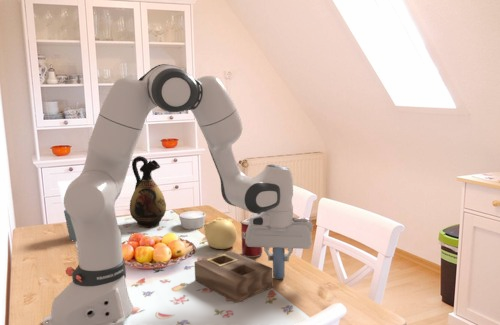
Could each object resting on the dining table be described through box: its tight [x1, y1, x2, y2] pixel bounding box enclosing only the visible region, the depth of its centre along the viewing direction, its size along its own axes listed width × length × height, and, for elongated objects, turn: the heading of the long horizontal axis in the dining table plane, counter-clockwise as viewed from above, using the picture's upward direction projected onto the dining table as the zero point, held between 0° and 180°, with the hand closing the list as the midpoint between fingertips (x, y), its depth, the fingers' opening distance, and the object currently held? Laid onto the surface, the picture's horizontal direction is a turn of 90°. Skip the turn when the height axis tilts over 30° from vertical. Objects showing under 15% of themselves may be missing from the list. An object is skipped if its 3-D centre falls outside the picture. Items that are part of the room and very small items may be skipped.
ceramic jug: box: [129, 155, 167, 229], centre depth 195 cm, size 17×15×30 cm
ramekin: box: [179, 210, 207, 230], centre depth 194 cm, size 11×11×5 cm
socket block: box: [194, 250, 273, 303], centre depth 137 cm, size 14×20×6 cm
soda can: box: [240, 218, 263, 258], centre depth 160 cm, size 7×7×12 cm
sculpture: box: [203, 217, 238, 250], centre depth 168 cm, size 11×12×11 cm
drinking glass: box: [63, 209, 77, 242], centre depth 182 cm, size 10×10×12 cm
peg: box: [272, 247, 286, 280], centre depth 140 cm, size 4×4×10 cm
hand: (278, 260), depth 140 cm, fingers closed on peg, 4 cm apart
